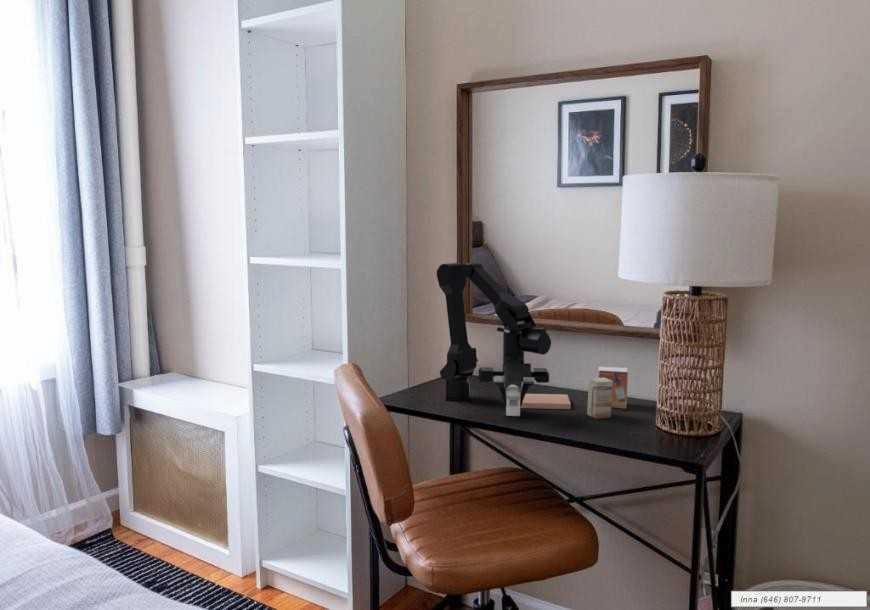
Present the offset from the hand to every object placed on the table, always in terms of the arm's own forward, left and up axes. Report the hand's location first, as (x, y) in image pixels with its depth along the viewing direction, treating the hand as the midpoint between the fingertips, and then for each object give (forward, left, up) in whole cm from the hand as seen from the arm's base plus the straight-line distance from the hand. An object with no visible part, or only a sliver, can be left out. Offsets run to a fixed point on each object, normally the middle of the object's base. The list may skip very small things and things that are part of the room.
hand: (513, 405), depth 195 cm
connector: (0, 0, -2) cm, 2 cm away
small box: (+28, +10, -2) cm, 30 cm away
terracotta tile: (+8, +10, -2) cm, 13 cm away
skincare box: (+23, -1, -2) cm, 23 cm away
